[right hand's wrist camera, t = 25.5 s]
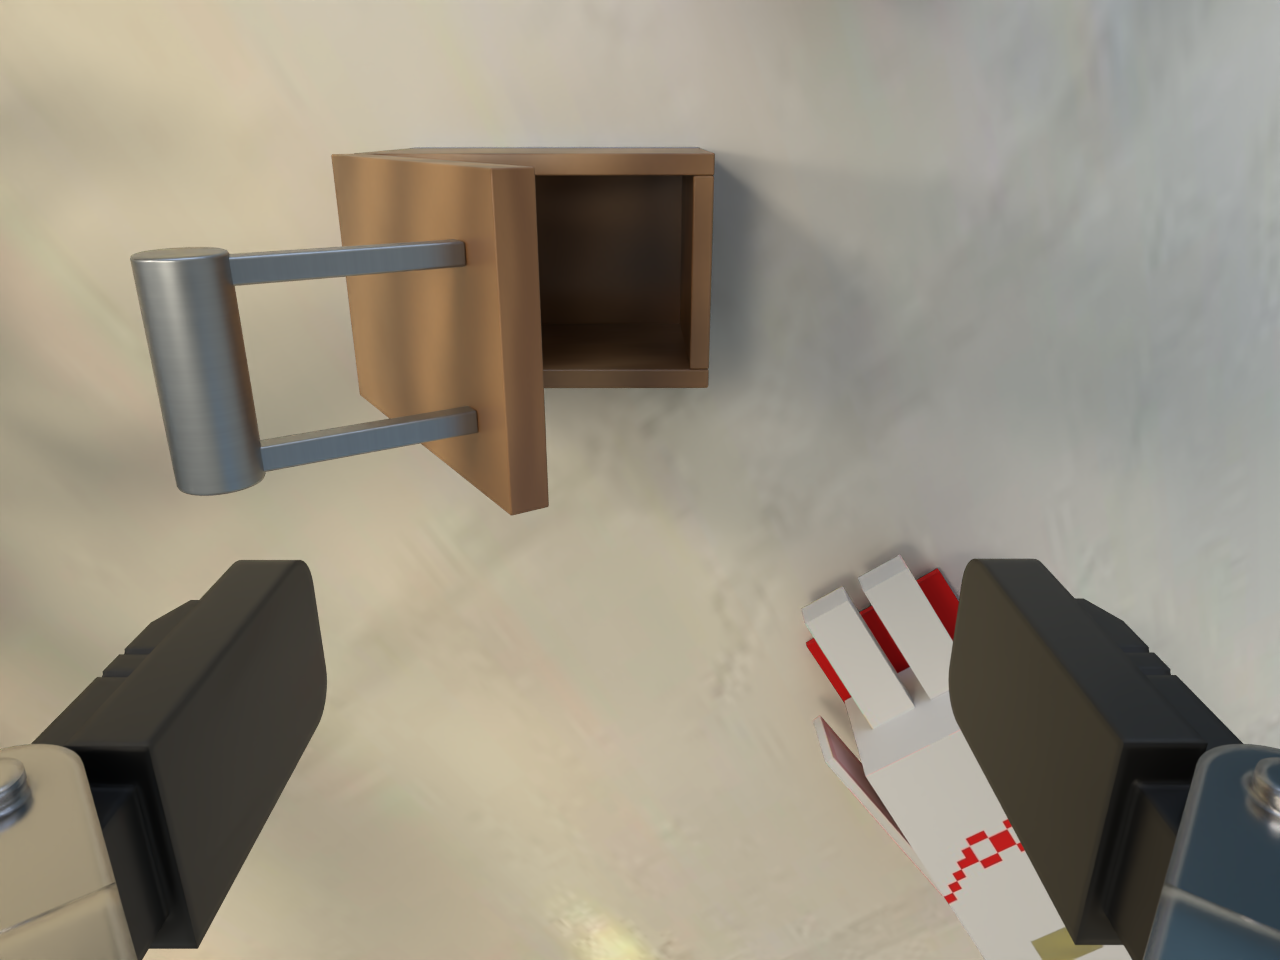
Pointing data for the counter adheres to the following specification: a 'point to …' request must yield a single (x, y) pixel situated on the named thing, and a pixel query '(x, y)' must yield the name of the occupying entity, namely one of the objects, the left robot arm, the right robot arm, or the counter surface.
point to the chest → (617, 260)
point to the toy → (929, 762)
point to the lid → (373, 331)
